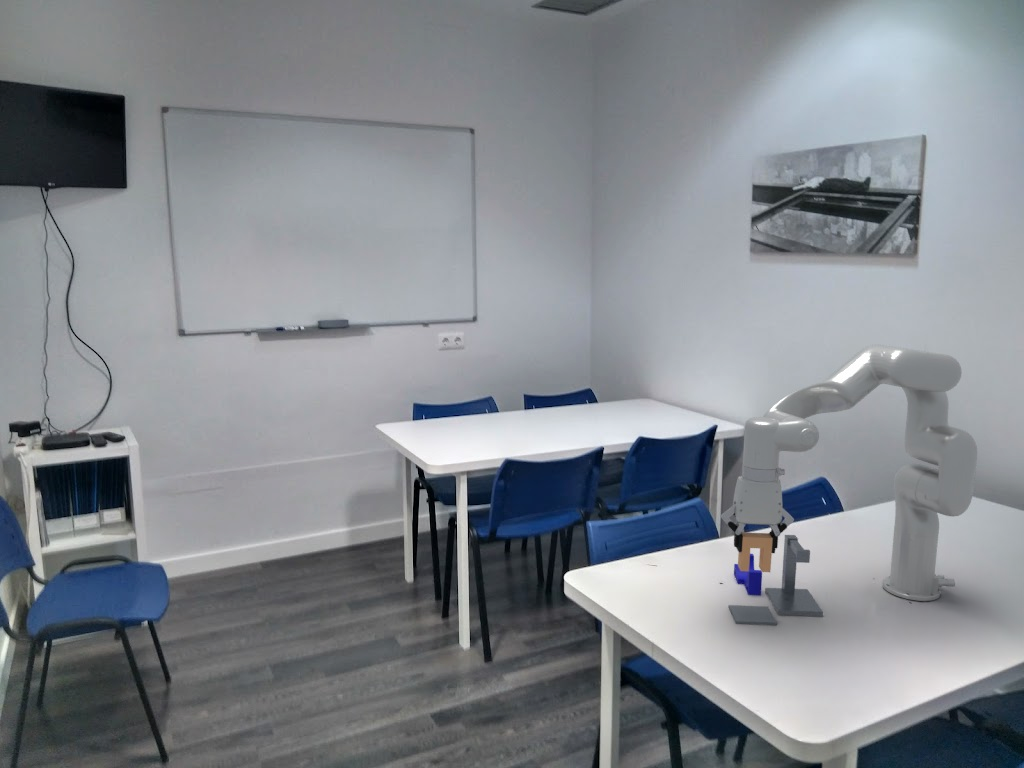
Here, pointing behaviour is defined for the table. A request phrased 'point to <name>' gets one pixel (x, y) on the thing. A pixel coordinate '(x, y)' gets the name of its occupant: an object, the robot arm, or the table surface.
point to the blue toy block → (749, 578)
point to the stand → (793, 584)
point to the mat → (752, 615)
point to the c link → (756, 541)
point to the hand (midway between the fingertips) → (755, 549)
